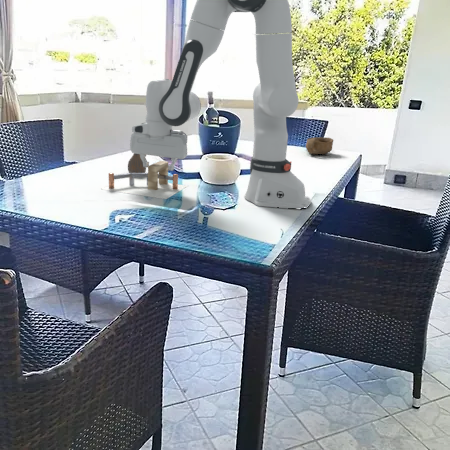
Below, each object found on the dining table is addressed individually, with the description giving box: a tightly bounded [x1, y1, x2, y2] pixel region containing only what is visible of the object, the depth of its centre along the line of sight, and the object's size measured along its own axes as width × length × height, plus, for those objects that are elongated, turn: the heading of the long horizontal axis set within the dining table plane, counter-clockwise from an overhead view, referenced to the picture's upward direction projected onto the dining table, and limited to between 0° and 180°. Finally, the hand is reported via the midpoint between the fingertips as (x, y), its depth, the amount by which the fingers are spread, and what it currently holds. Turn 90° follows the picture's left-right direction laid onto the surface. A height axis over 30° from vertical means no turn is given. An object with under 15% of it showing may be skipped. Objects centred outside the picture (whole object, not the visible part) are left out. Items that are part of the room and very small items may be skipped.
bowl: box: [305, 136, 334, 155], centre depth 250 cm, size 18×14×10 cm
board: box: [101, 177, 188, 200], centre depth 170 cm, size 24×19×1 cm
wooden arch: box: [147, 160, 169, 190], centre depth 171 cm, size 3×10×8 cm, turn 162°
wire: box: [108, 172, 179, 189], centre depth 170 cm, size 23×6×5 cm, turn 100°
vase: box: [127, 153, 147, 173], centre depth 186 cm, size 7×7×9 cm
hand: (158, 168), depth 170 cm, fingers open, 8 cm apart
